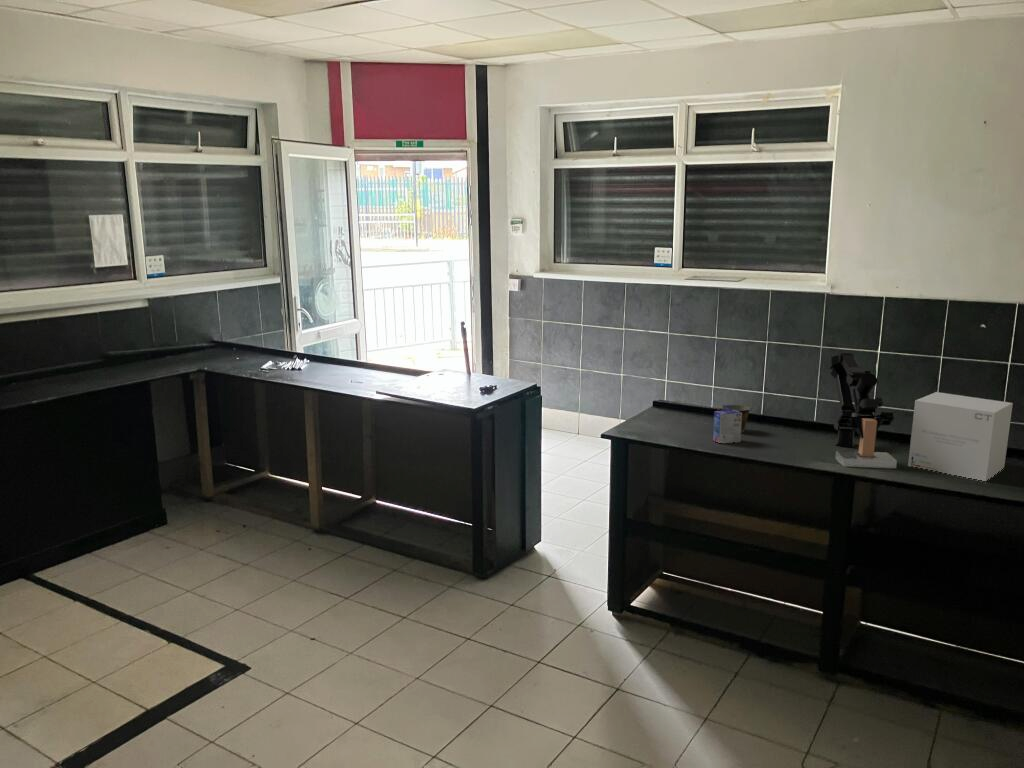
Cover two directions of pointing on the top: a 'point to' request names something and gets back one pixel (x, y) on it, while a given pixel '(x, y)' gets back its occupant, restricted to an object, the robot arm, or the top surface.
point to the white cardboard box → (960, 435)
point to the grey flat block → (865, 460)
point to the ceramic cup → (744, 413)
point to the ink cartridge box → (727, 425)
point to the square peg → (868, 437)
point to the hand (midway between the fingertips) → (868, 437)
